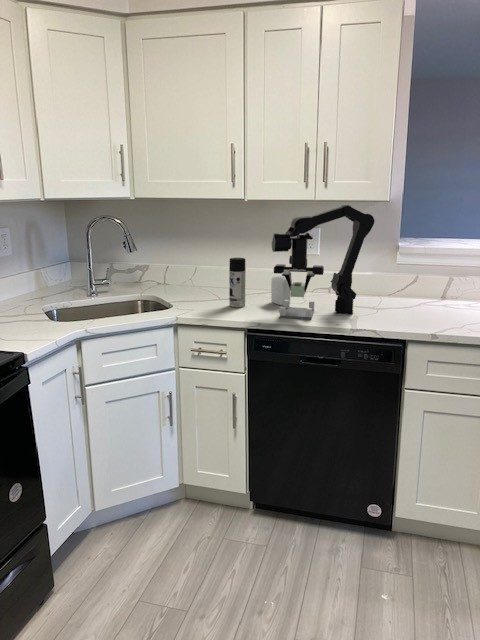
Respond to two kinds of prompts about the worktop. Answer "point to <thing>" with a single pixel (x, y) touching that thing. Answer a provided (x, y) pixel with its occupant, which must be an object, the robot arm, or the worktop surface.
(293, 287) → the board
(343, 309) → the robot arm
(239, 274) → the spray can
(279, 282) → the photo printer
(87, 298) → the worktop surface
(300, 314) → the chassis
